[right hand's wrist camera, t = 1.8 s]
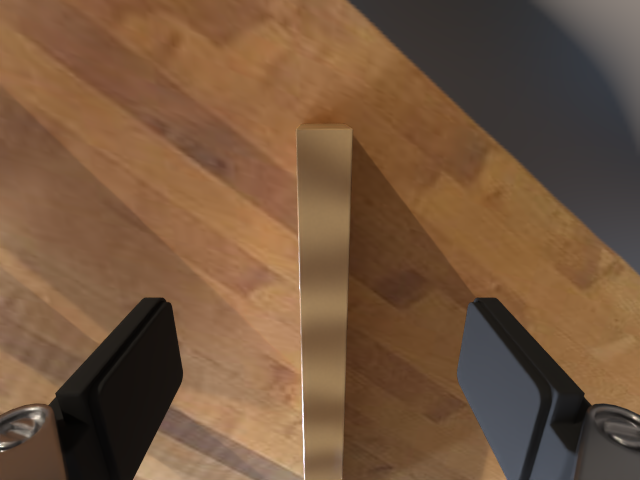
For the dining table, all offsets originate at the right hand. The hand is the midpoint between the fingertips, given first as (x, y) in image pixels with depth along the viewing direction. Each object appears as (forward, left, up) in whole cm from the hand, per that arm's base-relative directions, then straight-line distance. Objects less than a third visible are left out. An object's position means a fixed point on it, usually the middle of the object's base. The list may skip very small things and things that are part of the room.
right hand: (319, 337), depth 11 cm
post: (-15, -17, -27) cm, 36 cm away
